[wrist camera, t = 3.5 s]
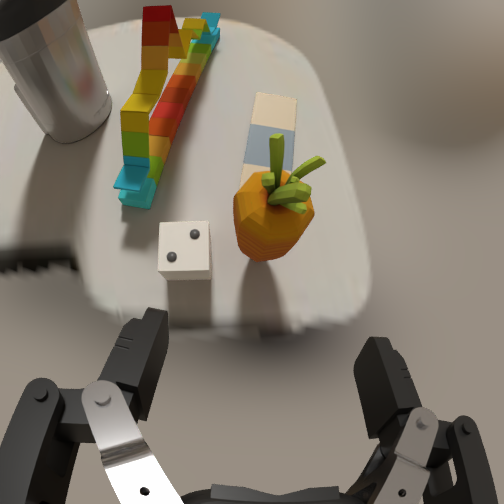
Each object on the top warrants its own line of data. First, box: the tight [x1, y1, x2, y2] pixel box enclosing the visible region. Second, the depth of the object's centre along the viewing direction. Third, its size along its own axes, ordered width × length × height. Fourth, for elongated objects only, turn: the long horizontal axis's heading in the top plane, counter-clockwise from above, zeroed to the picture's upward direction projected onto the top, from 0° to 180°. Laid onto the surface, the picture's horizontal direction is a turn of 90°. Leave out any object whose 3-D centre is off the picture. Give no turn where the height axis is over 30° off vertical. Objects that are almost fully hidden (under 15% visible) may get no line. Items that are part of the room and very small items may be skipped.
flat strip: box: [239, 92, 297, 190], centre depth 30 cm, size 5×16×1 cm, turn 173°
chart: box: [113, 5, 220, 209], centre depth 25 cm, size 30×3×15 cm, turn 171°
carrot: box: [233, 133, 326, 262], centre depth 20 cm, size 5×5×15 cm
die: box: [158, 221, 211, 280], centre depth 25 cm, size 4×4×4 cm
